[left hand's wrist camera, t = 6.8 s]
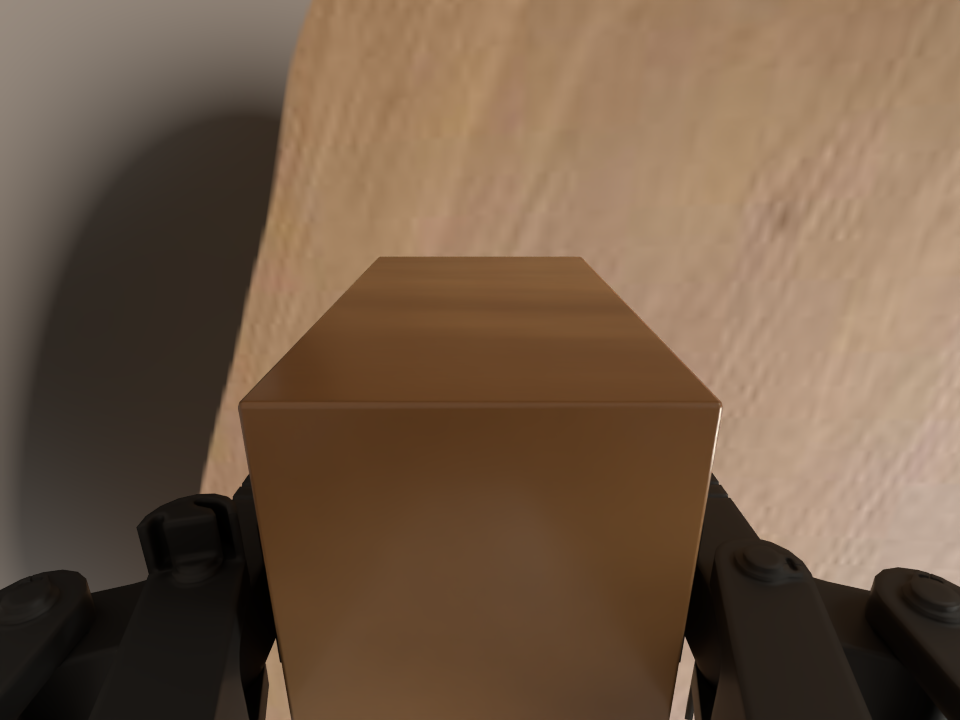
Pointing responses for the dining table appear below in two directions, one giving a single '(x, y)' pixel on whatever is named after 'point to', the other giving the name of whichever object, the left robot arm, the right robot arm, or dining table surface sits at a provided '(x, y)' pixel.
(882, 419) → the dining table surface
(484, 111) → the dining table surface
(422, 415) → the bar
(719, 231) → the dining table surface
